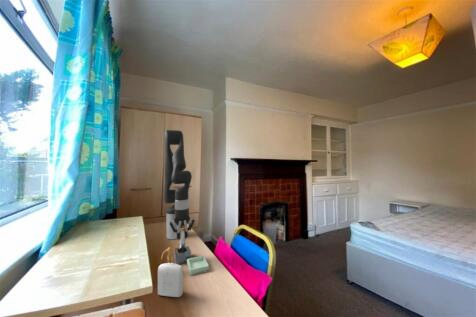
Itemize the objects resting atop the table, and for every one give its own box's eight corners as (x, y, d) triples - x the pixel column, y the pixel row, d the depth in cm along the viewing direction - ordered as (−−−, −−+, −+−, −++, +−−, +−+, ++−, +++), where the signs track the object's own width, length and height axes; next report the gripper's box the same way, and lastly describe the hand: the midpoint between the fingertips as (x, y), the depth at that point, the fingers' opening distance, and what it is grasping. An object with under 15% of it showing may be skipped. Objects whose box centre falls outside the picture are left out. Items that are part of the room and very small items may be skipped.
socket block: (174, 257, 110) (174, 248, 110) (188, 254, 113) (188, 245, 113) (175, 264, 103) (175, 255, 103) (191, 261, 106) (191, 252, 106)
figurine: (162, 278, 91) (161, 252, 91) (160, 271, 97) (160, 247, 97) (180, 273, 95) (180, 248, 95) (178, 266, 101) (177, 243, 100)
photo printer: (184, 291, 82) (184, 261, 82) (180, 298, 78) (179, 267, 78) (161, 289, 84) (161, 260, 84) (156, 296, 80) (155, 265, 79)
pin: (178, 249, 109) (178, 225, 109) (185, 248, 111) (185, 224, 111) (179, 252, 106) (178, 228, 105) (186, 251, 107) (186, 227, 107)
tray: (186, 263, 103) (186, 258, 103) (203, 260, 107) (203, 255, 107) (190, 275, 93) (190, 270, 93) (208, 270, 97) (208, 265, 97)
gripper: (193, 204, 114) (193, 234, 114) (167, 207, 108) (168, 238, 109) (196, 207, 107) (196, 239, 107) (168, 210, 102) (169, 243, 102)
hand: (182, 238), depth 108 cm, fingers closed on pin, 3 cm apart
